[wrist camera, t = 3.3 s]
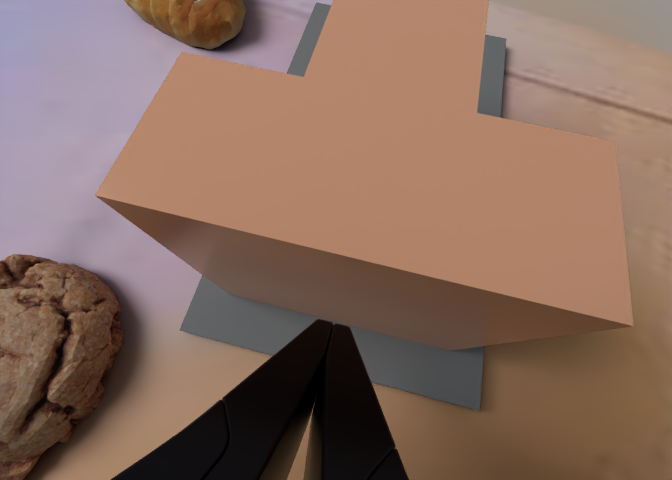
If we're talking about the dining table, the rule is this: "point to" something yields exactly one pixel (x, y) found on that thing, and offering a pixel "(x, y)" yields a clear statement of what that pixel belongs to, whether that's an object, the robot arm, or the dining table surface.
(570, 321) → the tee
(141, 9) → the pastry
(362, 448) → the robot arm
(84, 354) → the cookie
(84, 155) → the dining table surface
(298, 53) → the board
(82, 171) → the dining table surface
